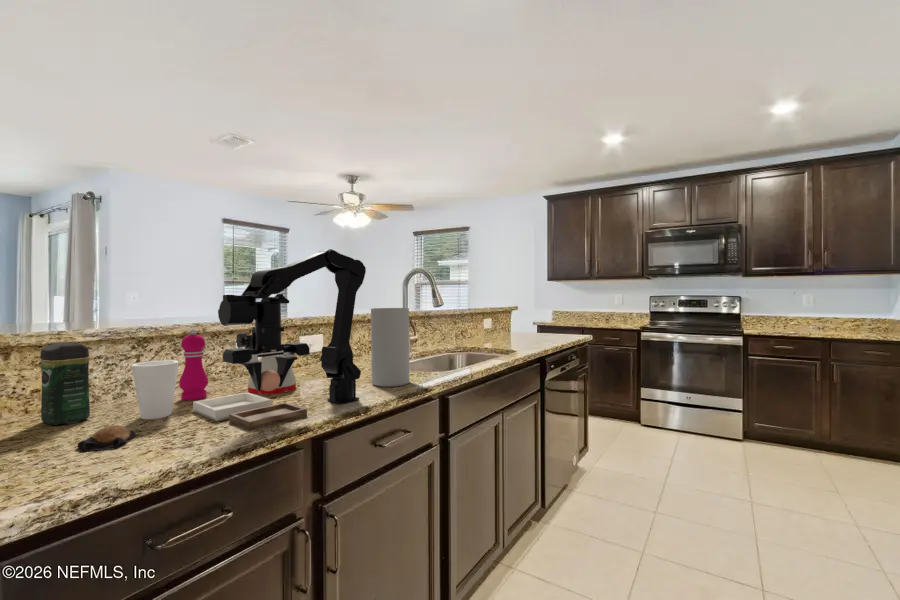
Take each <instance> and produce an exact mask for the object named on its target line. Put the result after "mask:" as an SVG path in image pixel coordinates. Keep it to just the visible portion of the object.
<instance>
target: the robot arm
mask: <svg viewBox="0 0 900 600" xmlns="http://www.w3.org/2000/svg"><path fill="white" fill-rule="evenodd" d="M323 268H326V270H327V271H328V272H330V273H332V274H334V281H335V284H336V287H337V289H338V291H337V292H338V293H337V299H336V305H335V313H334V321H333V326H332V332H331V340H330V342H329V344H328V345H327V346H324V345H323V346H322V347H321V355H320V359H319V362H320V365H321V369H323V371H324V372H325V375H326V378H327V379H330V384H329V387H328V390H329V394H328V396H329V398H327V399H326V401H327V402H331V403H335V404H339V405H341V404H347V403H351V402H355V401H359V400H360V397H357V392H356V391H357V390H356V389H357V385H356V383H357V382H356V380H359V379H360V378H361V373H362V371H361V370H360V369H359V367H358V366H357V365H356V364H355V363H354V352H353V350H352V347H351V344H350V340H351V332H352V326H353V319H354V312H355V304H356V297H357V292H358V291H359V290H360V288H361V286H362V285H363V284H364V280H365V276H366V273H367V271H366V270H367V269H366V266H365V264H364V263H363V262H362V261H361V260H360V259H354V258H353V257H350V256H348V255H345V254H342V253H339V252H338V251H336V250H334V249H330V248H329V249H328V248H327V249H321V250H319V251H318V252H316V253H314V254H311V255H309V256H306V257H304V258H301V259H299V260H297V261H294V262H291V263H289V264H286V265H284V266H280V267H279V266H278V267H274V268H268V269H267V268H266V269H261V270H257V271H256V272H253V274H252V275H251V278H250V282H249V284H248V285H247V287H246V288H245V289H244V291H243V292H242V293H241V295H236V294H223V295H222V301H220V303H219V309H218V310H217V313H218V321H219V322H220V324H221V325H222V326H224V327H225V326H237V325H238V326H239V325H241V326H242V325H251V324H252V323H253V322H254V327H252V330H251V334H247V333H246V332H244V333H237V334H236V347H237V348H225V349H224V350H225V351H224V352H223V353H222V362H224V363H228V364H232V365H233V364H234V365H235V364H236V365H237V364H238V365H242V366H244V367H245V368H246V370H247V372H248V373H249V375H250V376H251V378H252V381H253V383H254V385H255V388H256V390H257V391H260V388H261V368H262V362H258V360H259V358H261V357H265V356H273V355H279V356H277V357H275V358H276V361H277V373H278V374H279V376H280V384H279V386H278V387H281V386H282V384H283V382H284V380H285V377H286V375H287V373H288V371H289V369H290V367H292V365H293V364H294V361H297V360H298V359H299V358H298V357H297V356H299V357H301V356H302V357H303V356H307V355H310V352H311V351H310V349H311V348H310V346H309V344H308V343H305V342H287V343H282V332H285V327H284V326H282V307H281V306H282V304H290V300H289V299H288V298H286V297H285V295H284V294H283V291H285V290H286V289H287V288H289V287H290V286H291V285H292V284H293V283H294V282H295V281H296V280H298V279H301V278H303V277H305V276H307V275H310V274H311V273H314V272H316V271H318V270H319V271H320V270H321V269H323ZM272 295H275V296H272ZM257 299H261V300H260V301H257ZM275 349H276V350H275ZM295 354H296V355H297V356H295ZM250 376H249V377H250Z"/></svg>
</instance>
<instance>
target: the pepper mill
mask: <svg viewBox="0 0 900 600" xmlns="http://www.w3.org/2000/svg"><path fill="white" fill-rule="evenodd" d="M197 332H198V331H197V329H196V328H195V329H194V328H192V329H190V330H189V334H187V335H186V336H184V337H183V338H182V340H181V344H180V345H181V348H182V349H183V350H184V351H183V357H184V358H185V363H184V364H185V365H184V369H183V371H182V374H181V376H180V379H179V382H178V383H179V385H178V386H179V389H181V390H182V392H181V396H180V397H181V400H182V401H199V400H203V399H205V398H206V397H207V393H208V392H207V390H206V387H207V386H208V385H209V378H208V375H207V373H206V371H205V369H204V366H203V356H204V350H203V349H204V348H205V347H206V339H205V337H203V336H202V335H200V334H197Z"/></svg>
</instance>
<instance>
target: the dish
mask: <svg viewBox="0 0 900 600" xmlns="http://www.w3.org/2000/svg"><path fill="white" fill-rule="evenodd" d="M192 402H193V405H192V408H193V409H192V410H193V411H192V412H193V413H196V414H198V415H201V416H203V417H205V418H207V419H210V420H212V421H214V422H218V421H223V420H227V419H229V414H233V413H238V412H243V411H247V410H252V409H257V408H262V407H266V406H271V405H272V399H270V398H268V397H264V396H261V395H259V394H251V393H249V392H248V391H247V392H241V393H236V394H231V395H223V396H217V397H213V398H212V397H211V398H207V399H199V400H194V401H192Z"/></svg>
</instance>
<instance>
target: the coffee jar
mask: <svg viewBox="0 0 900 600" xmlns="http://www.w3.org/2000/svg"><path fill="white" fill-rule="evenodd" d="M40 350H41V351H40V356H39V357H40V368H41V370H40V371H41V372H40V373H41V400H40V401H41V402H40V403H41V405H40V420H41V422H43V423H44V424H47V425H51V426H52V425H56V426H57V425H61V424H66V425H67V424H68V425H69V424H75V423H78V422H80V421H82V420H86V419H88V418H89V417H90V416H91V414H90V413H91V412H90V411H91V408H90V404H91V403H90V384H89V383H90V382H89V381H90V378H89V377H90V375H89V369H90V367H89V365H90V352H89V347H88V346H85V345H84V344H81V343H71V342H58V343H49V344H47V345H46V346H45V347H43V348H41V349H40Z"/></svg>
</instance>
